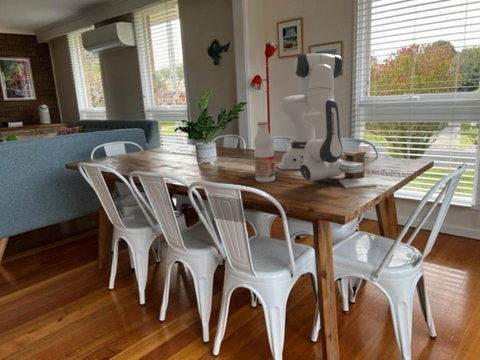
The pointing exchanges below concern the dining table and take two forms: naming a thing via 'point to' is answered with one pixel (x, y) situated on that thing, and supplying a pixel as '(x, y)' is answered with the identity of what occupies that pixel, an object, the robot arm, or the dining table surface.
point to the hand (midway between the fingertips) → (355, 162)
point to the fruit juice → (264, 154)
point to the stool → (355, 157)
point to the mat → (357, 182)
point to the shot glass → (365, 149)
